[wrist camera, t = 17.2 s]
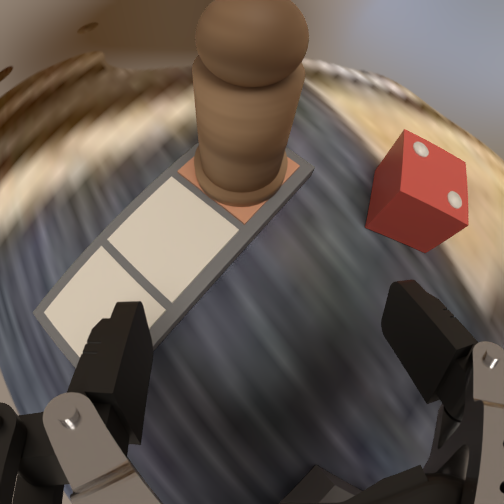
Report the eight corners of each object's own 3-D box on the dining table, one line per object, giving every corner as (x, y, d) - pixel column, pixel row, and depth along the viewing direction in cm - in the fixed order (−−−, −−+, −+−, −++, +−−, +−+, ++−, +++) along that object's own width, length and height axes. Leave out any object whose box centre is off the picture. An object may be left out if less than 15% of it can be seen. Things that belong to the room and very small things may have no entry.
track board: (233, 122, 22) (234, 111, 21) (311, 175, 21) (315, 165, 20) (40, 315, 16) (31, 312, 15) (111, 398, 15) (103, 400, 14)
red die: (375, 170, 21) (405, 127, 16) (429, 196, 21) (466, 161, 16) (365, 227, 20) (401, 189, 15) (425, 253, 19) (469, 224, 15)
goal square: (235, 124, 20) (235, 122, 20) (299, 167, 20) (300, 165, 19) (177, 172, 19) (177, 171, 19) (244, 225, 18) (244, 223, 18)
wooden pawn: (236, 121, 20) (247, -37, 9) (302, 166, 19) (360, 4, 8) (177, 171, 19) (143, -3, 7) (245, 225, 18) (273, 42, 7)
